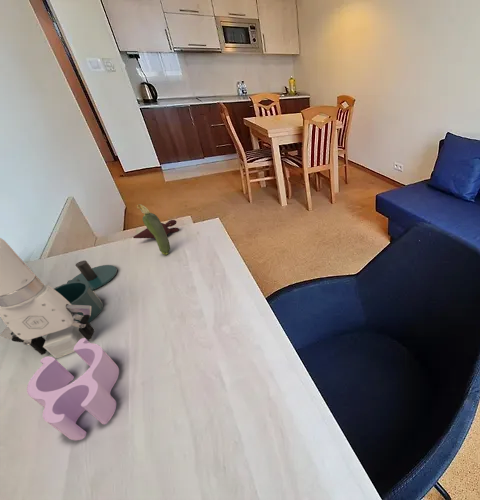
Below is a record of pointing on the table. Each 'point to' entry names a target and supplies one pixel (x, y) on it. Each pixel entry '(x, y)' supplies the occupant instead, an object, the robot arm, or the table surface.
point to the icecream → (148, 234)
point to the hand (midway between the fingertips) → (69, 342)
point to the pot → (81, 296)
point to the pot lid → (95, 274)
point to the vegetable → (155, 229)
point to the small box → (62, 341)
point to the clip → (75, 390)
